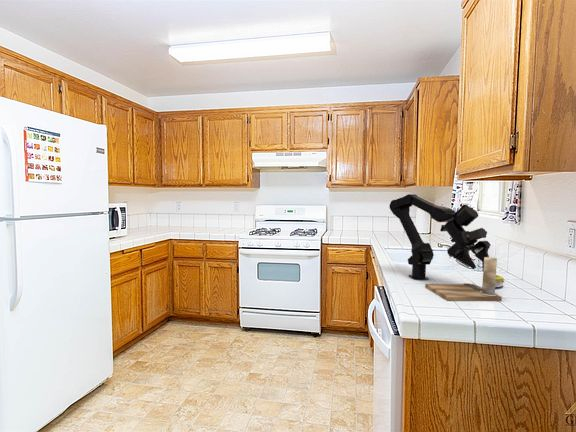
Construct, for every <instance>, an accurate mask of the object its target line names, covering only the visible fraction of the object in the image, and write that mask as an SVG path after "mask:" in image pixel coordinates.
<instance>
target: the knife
mask: <svg viewBox="0 0 576 432" xmlns="http://www.w3.org/2000/svg"><path fill="white" fill-rule="evenodd" d="M504 279H505V278H504V277H502V276H501V275H499V274H496V282H495V288H499V287H502V286H504V283H503V282H504V281H505V280H504Z"/></svg>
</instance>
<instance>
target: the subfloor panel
mask: <svg viewBox="0 0 576 432" xmlns="http://www.w3.org/2000/svg"><path fill="white" fill-rule="evenodd" d="M424 285H425V287H426V288H425V287H424V288H425V289H427V290H429V291H431V292H432V293H434V294H435V295H436V296H439V297H440V298H442V299H444V300H445V301H447V302H502V301H503V299H502V298H503V297H502V296H501V295H499V294H497V293H496V292H495V295H486V294H483V293H482V287H481V286H478V285H476V284H474V283H425V284H424Z"/></svg>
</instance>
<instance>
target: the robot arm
mask: <svg viewBox="0 0 576 432" xmlns="http://www.w3.org/2000/svg"><path fill="white" fill-rule="evenodd" d="M413 206H414V207H416V208H418V209H420V210H422V211H424V212H425V213H427V214H429V215H430V217H431V218H432V219H433V220H434V221H435V222H437V223H445V224H441V227H440V230H439V231H440V232H446V233H448V235H449V236H450V238H451V240H450V241H451V243H453V244H452V245H451V246H450V247H449V248H448V249H447V250H446V251H447V254H448V256H449V257H450V258H452V259H454V260H457V261H459V262H460V263H463V264H465V265H466V266H468V267H470V268H471V269H473V270H474V269H476V268H477V265H476V264H475V262H474V260H473V259H472V257H471V256H470V254H469V251H470V252H472V253H473V254H474V257H476V258H477V259H478V260H480V261H481V262H482V263H483V264H484V257H490V256H489V250H490V248H491V246H492V245H491V243H490V242H489V241H488V240H480V239H485V238H487V234H488V231H487V230H486V229H485V228H483V227H479V228H476V229H473V230H471V231H469V230H468V231H467V230H465V228H464V227H468V226H469V225H470V224H472V222H473V221H474V220H476V219H477V218H478V217H479V213H478V211H477V210H476V209H474V208H473V207H470V206H469V205H468V204H462V205H461V206H460V208H459V209H458V210H457V211H455V210H453V209H452V208H449V207H446V206H441V205H438V204H434V203H433V202H431V201H428V200H427V199H424V198H423V197H420V196H419V195H417V194H414V193H413V194H412V193H411V194H410V193H409V194H406V195H405V196H402V197H399V198H396V199H392V200H391V201H390V203H389V206H388V207H389V209H390V212H391V213H392V214H393V215H394V216H395V217H396V218H397V219H398V220H399V221H400V223H401V225H402V229H403V230H404V233H405V234H406V236H407V238H408V241H409V243H410V244H411V252H410V253H411V256H410V257H408V259H407V263H408V265H411V267H412V268H411V274H408V277H409V278H411V279H413V280H427V281H428V280H429V278H428V277H427V276H426V272H427V266H428V265H429V266H430V264H431V262H432V261H433V258H434V256H435V255H434V250H433V249H432V246H431V243H429V242H424V241H423V239H422V237H421V234H420V233H419V231H418V229H417V227H416V226H415V223H414V221H413V220H412V218H411V216H410V210H411V209H410V208H411V207H413ZM478 240H479V241H478Z"/></svg>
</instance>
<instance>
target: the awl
mask: <svg viewBox="0 0 576 432" xmlns="http://www.w3.org/2000/svg"><path fill="white" fill-rule="evenodd" d="M497 265H498V259H497V258H496V257H490V256H489V257H484V263H483V270H482V271H483V272H482V287H481V288H482V293H483V294H486V295H495V293H496V287H495V282H496V275H497Z"/></svg>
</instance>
